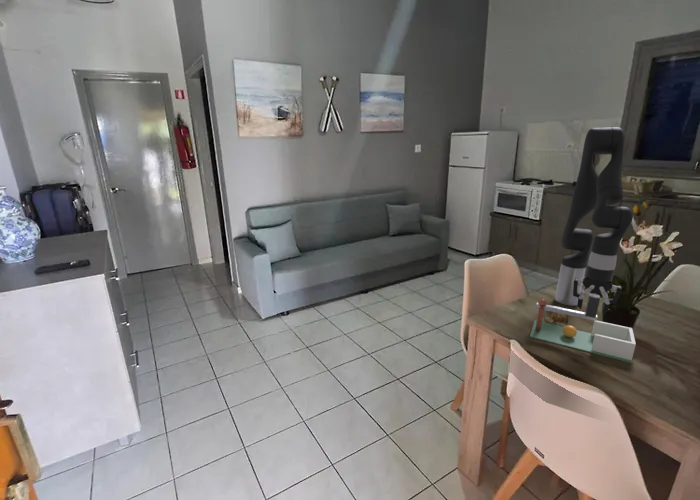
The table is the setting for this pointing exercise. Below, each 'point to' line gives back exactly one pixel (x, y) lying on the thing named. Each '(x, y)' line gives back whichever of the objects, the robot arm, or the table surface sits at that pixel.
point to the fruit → (558, 318)
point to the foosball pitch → (592, 339)
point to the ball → (569, 331)
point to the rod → (588, 314)
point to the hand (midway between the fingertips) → (591, 310)
